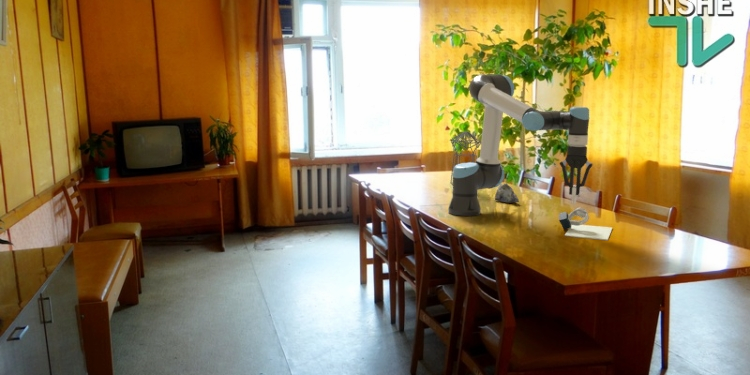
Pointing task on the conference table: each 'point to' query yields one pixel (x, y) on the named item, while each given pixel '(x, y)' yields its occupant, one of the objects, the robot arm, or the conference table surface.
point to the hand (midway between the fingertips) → (573, 202)
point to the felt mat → (589, 232)
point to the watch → (566, 218)
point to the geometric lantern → (464, 146)
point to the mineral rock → (506, 194)
